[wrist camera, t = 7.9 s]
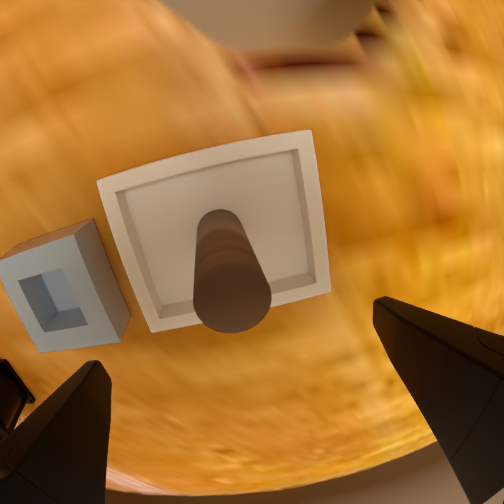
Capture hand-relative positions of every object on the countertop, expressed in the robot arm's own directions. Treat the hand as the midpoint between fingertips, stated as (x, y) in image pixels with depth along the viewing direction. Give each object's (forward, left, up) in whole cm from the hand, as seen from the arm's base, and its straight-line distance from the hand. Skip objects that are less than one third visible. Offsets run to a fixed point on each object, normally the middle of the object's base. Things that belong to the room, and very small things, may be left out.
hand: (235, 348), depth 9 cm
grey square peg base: (-1, +13, -13) cm, 18 cm away
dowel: (0, 0, -12) cm, 12 cm away
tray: (0, 0, -13) cm, 13 cm away
